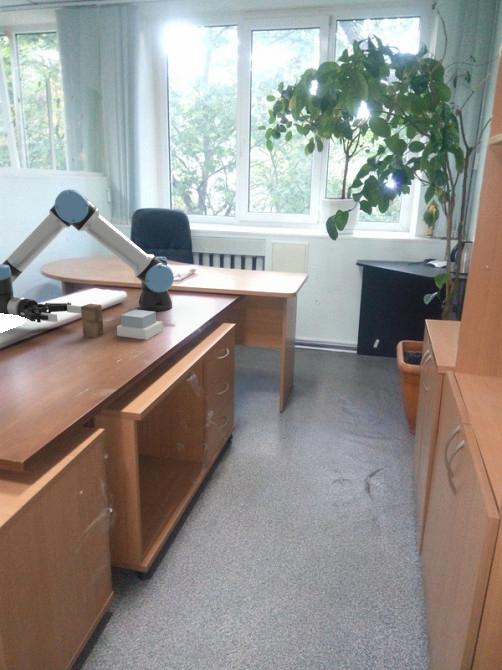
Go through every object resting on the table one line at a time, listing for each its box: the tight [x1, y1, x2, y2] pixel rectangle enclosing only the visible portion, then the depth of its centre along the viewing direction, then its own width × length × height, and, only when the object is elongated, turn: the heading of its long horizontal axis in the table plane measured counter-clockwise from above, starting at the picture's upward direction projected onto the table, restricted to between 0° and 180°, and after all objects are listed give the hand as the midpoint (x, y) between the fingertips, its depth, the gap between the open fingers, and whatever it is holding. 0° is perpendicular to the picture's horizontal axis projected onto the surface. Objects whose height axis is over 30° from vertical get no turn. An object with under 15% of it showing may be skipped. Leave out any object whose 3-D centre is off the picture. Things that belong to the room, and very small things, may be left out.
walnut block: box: [80, 303, 104, 339], centre depth 172 cm, size 5×5×11 cm
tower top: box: [120, 309, 157, 328], centre depth 176 cm, size 9×9×4 cm
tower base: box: [116, 320, 164, 341], centre depth 177 cm, size 12×12×4 cm
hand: (69, 314), depth 175 cm, fingers open, 13 cm apart
